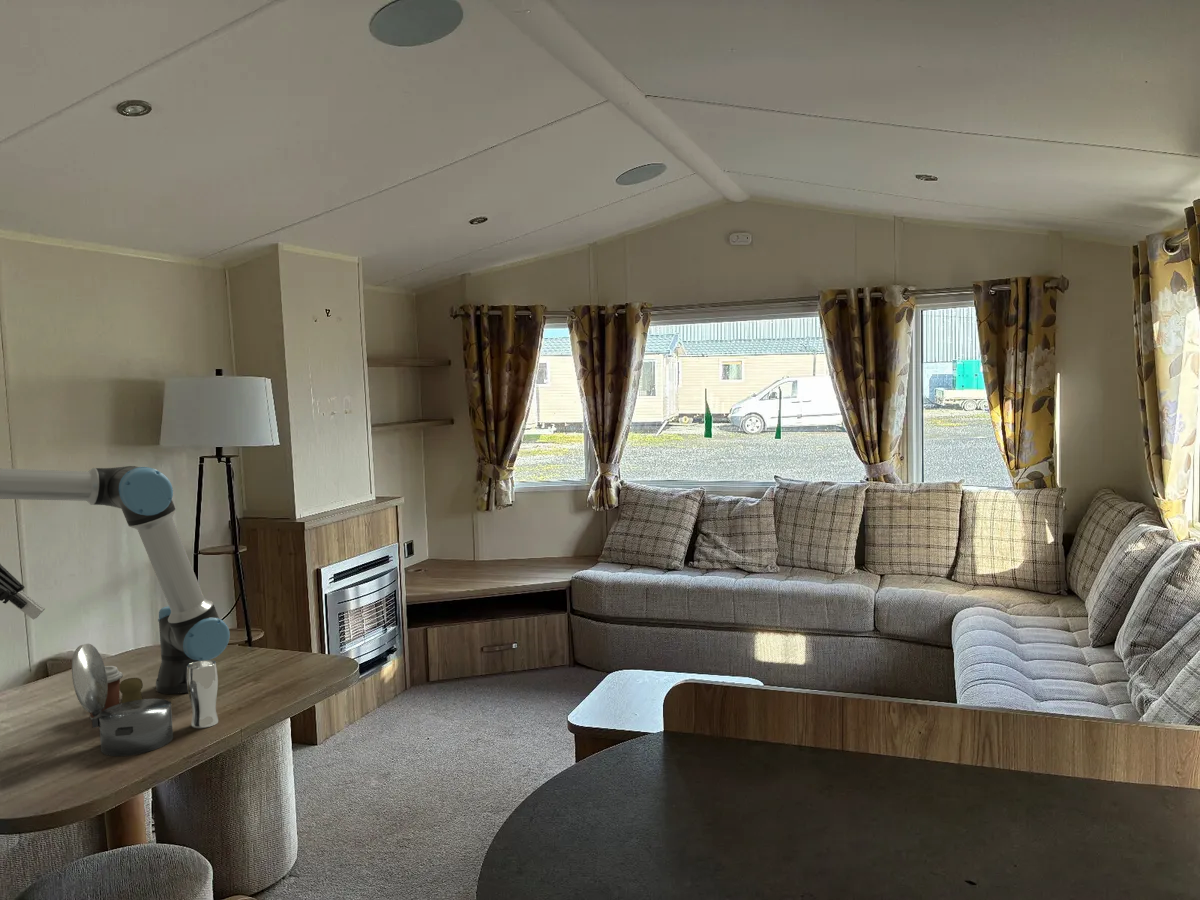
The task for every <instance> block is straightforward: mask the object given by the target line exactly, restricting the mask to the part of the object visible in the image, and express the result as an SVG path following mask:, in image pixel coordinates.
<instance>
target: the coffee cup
mask: <svg viewBox="0 0 1200 900" xmlns="http://www.w3.org/2000/svg"><path fill="white" fill-rule="evenodd" d="M104 666H105V670H106V675H107V687H108V689H107V699H106V702H105V708H104V709H103V710H102V711H104V710H105V709H107V708H109V707H112V706H115V705H118V704H120V693H121V692H120V689H119V685H120V683H121V679H122V678H123V672H121V671H119V669H118V667H117V666H114V665H104ZM94 717H95V716H93V715H92V713H90V712H89V719H90V720H91V721H92V719H93V718H94Z"/></svg>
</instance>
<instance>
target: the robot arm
mask: <svg viewBox="0 0 1200 900" xmlns="http://www.w3.org/2000/svg"><path fill="white" fill-rule="evenodd" d="M173 496H174V490H173V485H172V482H171V481H170V479H169V478H168V477H167V476H166V475H165V474H164V473H163V472H161V471H160V470H158V469H156V468H153V467H149V466H135V465H128V466H127V465H126V466H118V467H116V466H115V467H93V468H91V469H90V470H89V471H87V470H86V471H81V470H78V471H77V470H55V469H54V470H53V469H52V470H51V469H30V468H29V469H28V468H24V469H23V468H2V467H1V468H0V500H29V501H30V500H31V501H33V500H34V501H36V500H37V501H38V500H39V501H78V502H80V501H81V502H82V501H83V502H88V504H90V505H94V506H98V505H99V506H106V507H107V506H108V507H112V508H117V509H121V511H122V513H123V515H124V518H125V520H126V524H127V525H128V527H129V528H131V529H135V530H137V532H138V534H139V536H140V540H141V542H142V545H143V546H144V549H145V551H146V554H147V557H148V559H149V561H150V564H151V566H152V568H153V571H154V573H155V576H156V578H157V580H158V583H159V586H160V588H161V590H162V592H163V595H164V598H165V599H166V602H167V604H168V606H164V607H161V608H160V609H159V611H158V619H157V622H158V626H159V627H158V628H159V641H160V642H159V643H160V646H159V647H160V655H161V657H160V659H161V660H160V661H161V662H160V666H159V670H158V673H157V678H156V679H155V690H156V692H158V693H160V694H169V695H170V694H171V695H173V694H177V695H178V694H185V693H188V689H187V665H188V664H190V663H193V662H197V661H203V660H213V659H215V658H217V657H218V656H220V655H221V654H222V653H223V652H224V651H225V649H227V647H228V644H229V642H230V638H231V637H230V636H231V635H230V634H231V633H230V629H229V626H228V625H227V624H226V622H225V621H224V620H223V619H220V617H219V614H218V612H217V610H216V607H215V605H214V602H213V601H212V600H209V599H206V598H205V597H204V596H205V595H204V594H203V592H202V591H203V590H202V589H201V586H200V583H199V581H198V579H197V576H196V573H195V572H194V569H193V567H192V564H191V562H190V561H191V560H190V559H189V556H188V554H187V551H186V548H185V546H184V543H183V541H182V539H181V536H180V534H179V532H178V529H177V528H178V527H177V525H176V523H175V521H174V518H173V517H174V514H175V512H176V511H177V509H176V506H175V504H174V501H173ZM24 589H25V586H24V585H23V584H22V583H21V582H20V581H19V580H18V579H17V578H15V576H14V575H12V573H11V572H9V570H7V569H6V568H5V567H4V566H3V565H2V564H1V563H0V601H1V602H2V603H3V604H5V605H6V604H7V603H8V602H10V603H11V604H12V605H14V607H16V608H18V609H19V610H20V611H21V612H22V613H24V614H25V615H27V616H28V617H29V618H30V619H32V620H36V619H37V618H39V616H40V615H41V614H42V613H44V611H45V610H46V608H45V607H44V606H43V605H41V604H39V602H37V601H36V600H35V599H33V597H30V596H29V595H28V594H27V593H26V592H24Z"/></svg>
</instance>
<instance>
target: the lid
mask: <svg viewBox="0 0 1200 900" xmlns="http://www.w3.org/2000/svg"><path fill="white" fill-rule="evenodd" d="M71 661H72V662H71V675H72V676H71V679H72V685H73V689H74V693H75V695H76V698H77V700H78V702H79V704H80V705H81V707H82V708H83V709H84V710H85V711H86V712H88V713H89V714H90V713H92V715H93V716H97V715H98V714H99V713H100V712H101V711H102V710H103V709H104V708H105V702H106V699H107V689H108V687H107V675H106V670H105V666H106V665H105V663H104V661H103V657H102V656H101V654H100V652H99V650H98V649H97V648H96V647H95V646H94V645H93V644H90V643H84V644H81V645H79V646H77V648H76V649H75V650H74V653H73V656H72V660H71Z"/></svg>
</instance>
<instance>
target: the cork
mask: <svg viewBox="0 0 1200 900" xmlns="http://www.w3.org/2000/svg"><path fill="white" fill-rule="evenodd" d="M143 686H144V685H143V681H142V679H141V678H139V677H129V678H125V679H123V680H120V685H119V689H120V693H121V703H125V702H129V701H134V700H141V699H143V695H142V689H143ZM121 703H120V704H121Z"/></svg>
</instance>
